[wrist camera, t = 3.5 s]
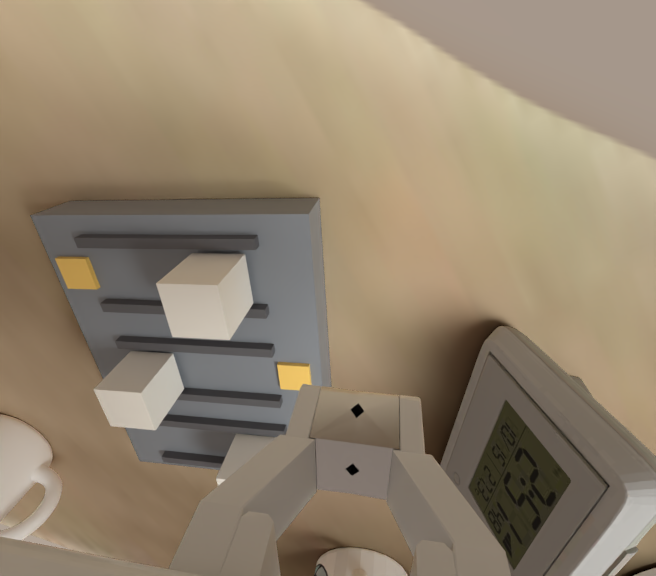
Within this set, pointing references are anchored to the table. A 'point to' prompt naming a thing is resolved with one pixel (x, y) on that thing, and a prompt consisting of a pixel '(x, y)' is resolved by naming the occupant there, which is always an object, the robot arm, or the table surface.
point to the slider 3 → (241, 453)
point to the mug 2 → (357, 563)
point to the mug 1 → (25, 474)
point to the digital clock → (548, 465)
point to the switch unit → (192, 353)
